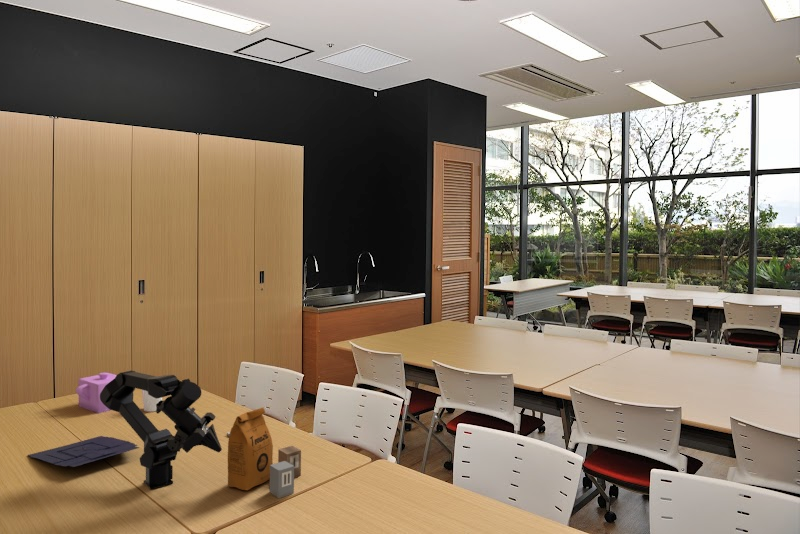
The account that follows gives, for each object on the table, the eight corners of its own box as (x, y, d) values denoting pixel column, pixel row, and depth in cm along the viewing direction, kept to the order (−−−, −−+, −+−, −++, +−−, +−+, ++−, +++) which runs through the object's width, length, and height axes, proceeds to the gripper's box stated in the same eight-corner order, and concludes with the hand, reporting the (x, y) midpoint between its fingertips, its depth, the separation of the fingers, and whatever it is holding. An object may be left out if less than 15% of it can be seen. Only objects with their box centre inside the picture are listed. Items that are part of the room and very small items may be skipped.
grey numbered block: (279, 498, 165) (279, 471, 164) (269, 492, 169) (269, 465, 168) (294, 493, 168) (294, 466, 168) (284, 487, 172) (285, 460, 172)
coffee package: (277, 480, 177) (278, 408, 175) (246, 495, 166) (246, 419, 165) (255, 472, 182) (255, 402, 181) (222, 486, 172) (223, 412, 170)
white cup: (158, 412, 238) (157, 388, 237) (138, 412, 238) (138, 387, 237) (166, 406, 245) (165, 383, 245) (147, 406, 246) (147, 382, 245)
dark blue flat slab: (67, 478, 172) (66, 465, 172) (26, 463, 190) (25, 452, 190) (146, 454, 191) (145, 443, 191) (102, 443, 210) (101, 433, 210)
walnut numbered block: (287, 480, 177) (287, 454, 176) (278, 474, 181) (278, 449, 180) (301, 476, 180) (301, 450, 180) (292, 470, 184) (292, 445, 184)
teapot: (144, 401, 252) (144, 369, 251) (86, 416, 231) (86, 381, 230) (124, 395, 260) (124, 364, 259) (66, 409, 239) (66, 375, 238)
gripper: (169, 423, 177) (206, 458, 179) (150, 446, 158) (192, 484, 160) (196, 397, 177) (233, 432, 179) (180, 417, 159) (222, 456, 161)
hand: (220, 451), depth 170 cm, fingers closed
